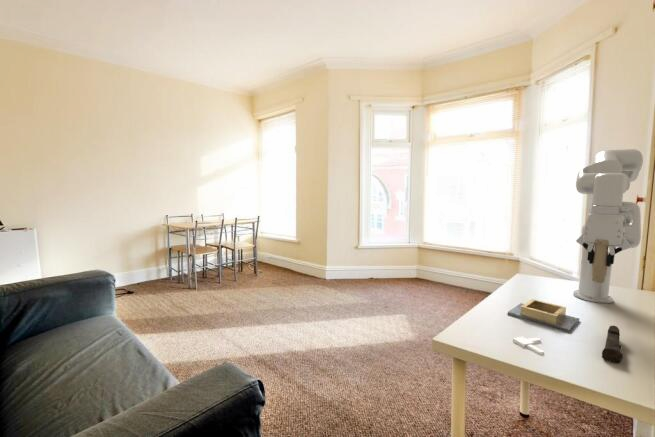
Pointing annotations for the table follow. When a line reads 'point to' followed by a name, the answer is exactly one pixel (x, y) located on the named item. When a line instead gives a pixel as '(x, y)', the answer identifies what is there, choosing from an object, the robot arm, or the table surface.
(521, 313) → the collar base
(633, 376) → the table surface
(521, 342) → the corner connector
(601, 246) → the handle
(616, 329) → the dark brown carved statuette
